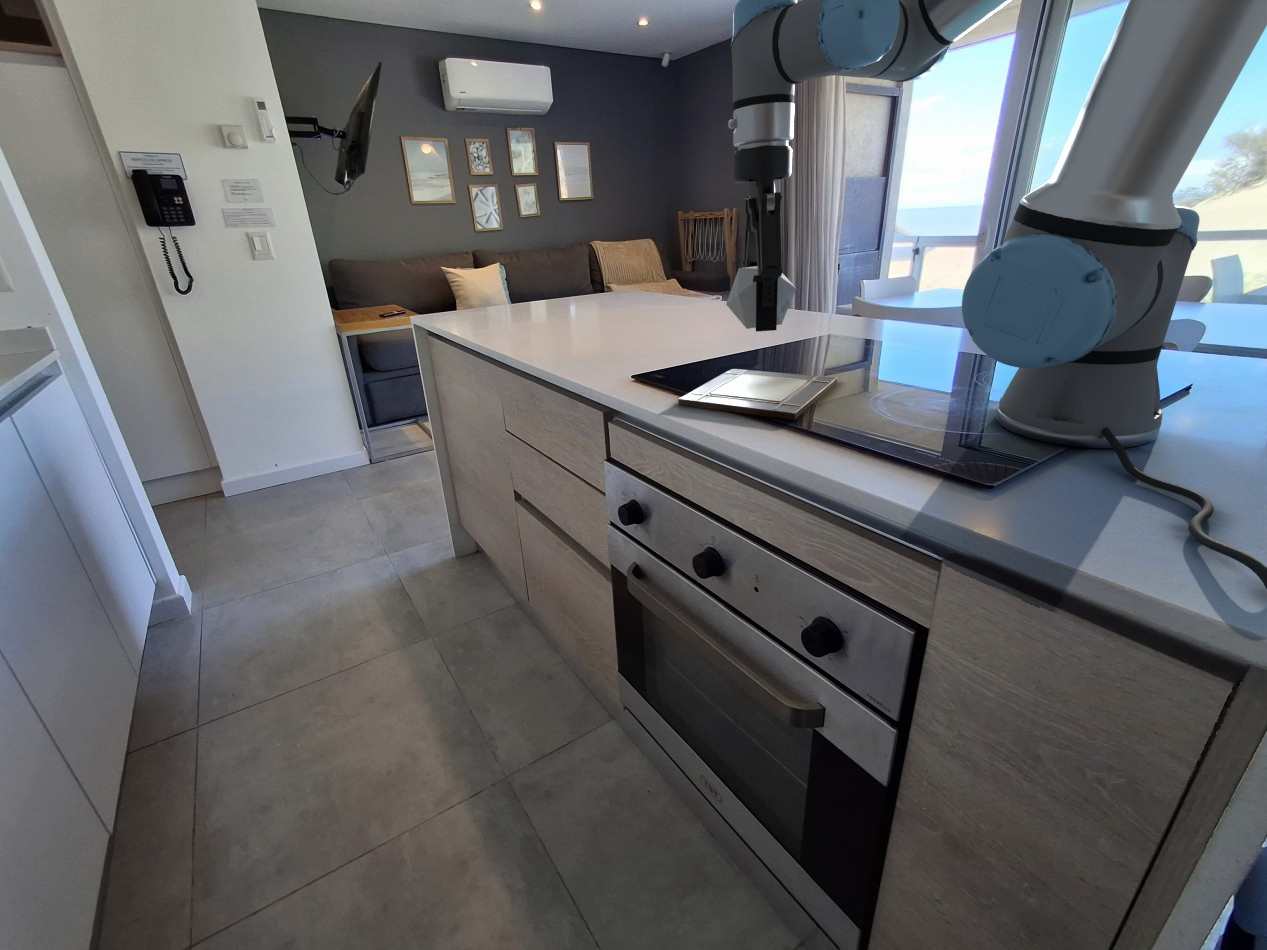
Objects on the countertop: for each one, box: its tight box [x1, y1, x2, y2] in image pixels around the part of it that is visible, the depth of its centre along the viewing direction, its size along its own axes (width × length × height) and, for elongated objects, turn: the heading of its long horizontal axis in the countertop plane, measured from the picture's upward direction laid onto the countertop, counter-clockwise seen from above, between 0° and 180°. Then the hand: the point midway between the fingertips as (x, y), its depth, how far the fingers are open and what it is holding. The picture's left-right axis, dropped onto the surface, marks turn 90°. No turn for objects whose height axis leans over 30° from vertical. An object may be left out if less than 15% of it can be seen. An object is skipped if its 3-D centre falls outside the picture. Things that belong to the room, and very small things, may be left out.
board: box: [677, 368, 838, 421], centre depth 87 cm, size 18×18×1 cm
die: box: [725, 266, 797, 330], centre depth 81 cm, size 8×9×10 cm
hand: (759, 323), depth 83 cm, fingers closed on die, 10 cm apart
